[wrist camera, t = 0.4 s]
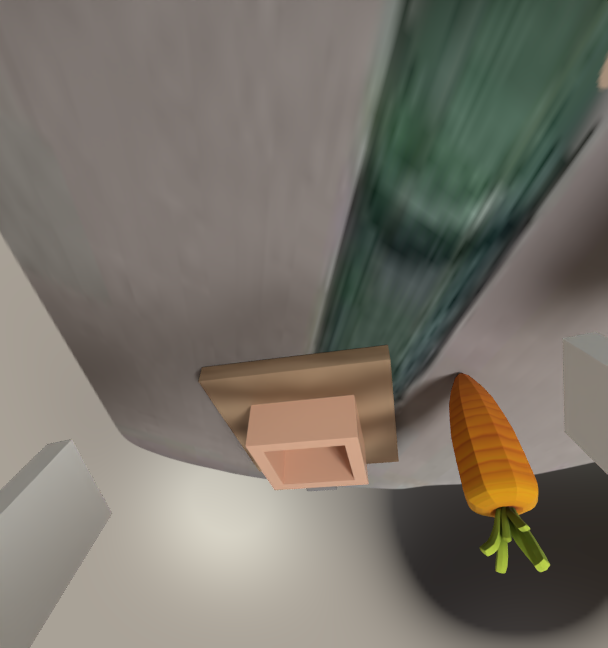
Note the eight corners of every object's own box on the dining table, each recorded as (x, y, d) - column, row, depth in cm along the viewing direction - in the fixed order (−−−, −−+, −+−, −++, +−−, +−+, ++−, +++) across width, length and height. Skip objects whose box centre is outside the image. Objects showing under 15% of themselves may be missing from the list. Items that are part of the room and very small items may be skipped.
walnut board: (202, 367, 33) (198, 381, 32) (387, 344, 31) (390, 359, 30) (260, 459, 46) (259, 471, 45) (396, 448, 43) (398, 461, 42)
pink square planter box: (251, 405, 35) (245, 446, 32) (354, 394, 33) (357, 437, 30) (279, 455, 42) (276, 493, 39) (365, 449, 40) (369, 487, 38)
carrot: (449, 396, 36) (505, 588, 25) (420, 372, 33) (468, 574, 23) (501, 374, 33) (587, 577, 23) (473, 347, 31) (556, 560, 20)
